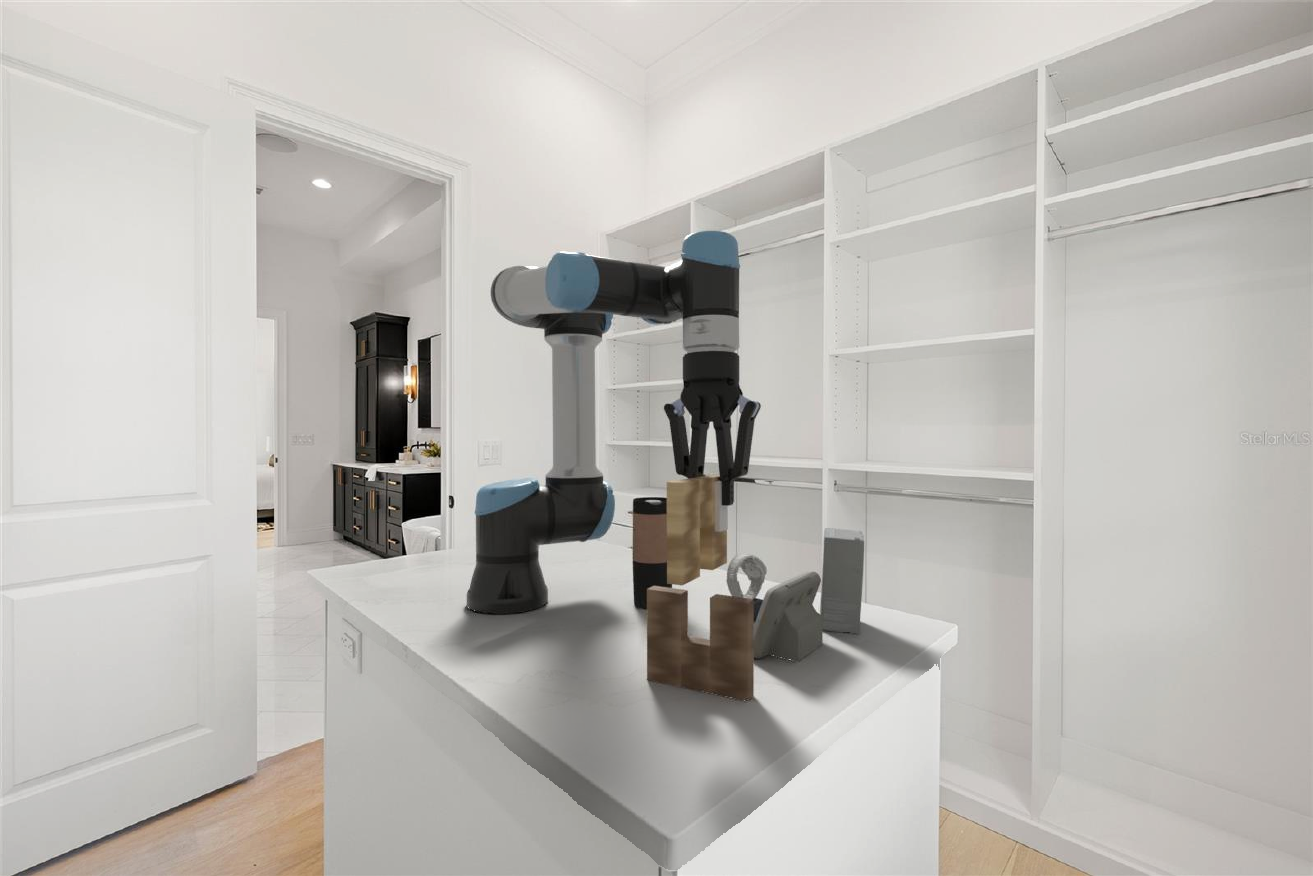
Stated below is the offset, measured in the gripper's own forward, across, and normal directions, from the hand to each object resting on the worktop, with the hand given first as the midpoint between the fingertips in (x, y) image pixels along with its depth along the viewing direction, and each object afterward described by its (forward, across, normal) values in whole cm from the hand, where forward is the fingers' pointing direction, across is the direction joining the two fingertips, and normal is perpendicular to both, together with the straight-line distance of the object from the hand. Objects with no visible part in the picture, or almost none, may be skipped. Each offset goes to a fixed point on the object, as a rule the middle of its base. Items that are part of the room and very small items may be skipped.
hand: (711, 529), depth 81 cm
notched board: (+5, 0, -4) cm, 6 cm away
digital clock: (+20, +5, +16) cm, 26 cm away
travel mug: (+20, -23, +26) cm, 40 cm away
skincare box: (+20, +11, +30) cm, 38 cm away
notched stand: (+20, 0, -4) cm, 20 cm away
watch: (+20, -5, +27) cm, 34 cm away
